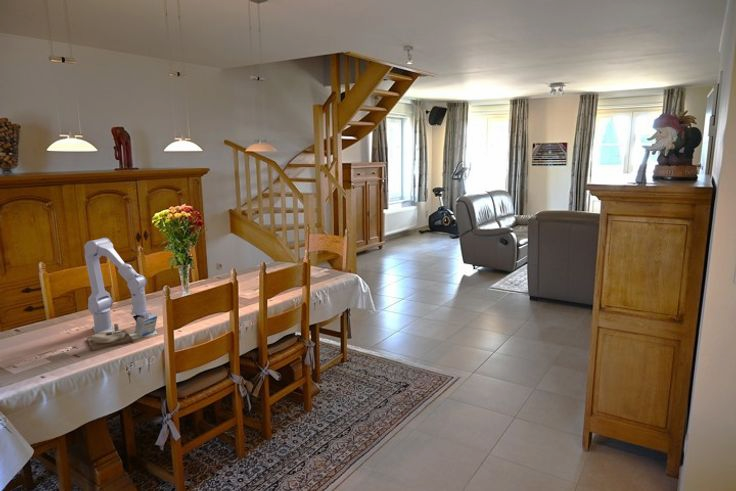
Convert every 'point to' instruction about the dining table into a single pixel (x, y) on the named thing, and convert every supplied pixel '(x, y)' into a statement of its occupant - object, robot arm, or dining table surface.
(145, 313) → the robot arm
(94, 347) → the base board
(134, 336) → the mat
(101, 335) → the index wheel
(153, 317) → the medicine box
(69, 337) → the dining table surface
